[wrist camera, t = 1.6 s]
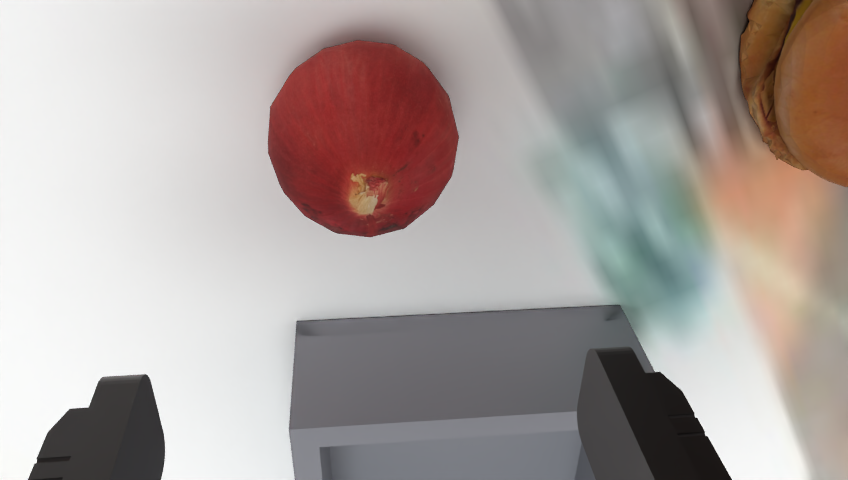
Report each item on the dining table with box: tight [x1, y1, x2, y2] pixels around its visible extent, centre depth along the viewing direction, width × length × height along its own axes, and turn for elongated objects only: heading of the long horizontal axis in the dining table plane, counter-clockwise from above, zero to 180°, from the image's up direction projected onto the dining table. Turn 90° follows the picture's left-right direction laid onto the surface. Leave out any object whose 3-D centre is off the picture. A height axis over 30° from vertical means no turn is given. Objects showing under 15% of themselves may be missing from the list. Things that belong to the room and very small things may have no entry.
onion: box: [268, 40, 459, 237], centre depth 23 cm, size 6×6×8 cm
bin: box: [289, 305, 655, 480], centre depth 33 cm, size 14×14×6 cm
